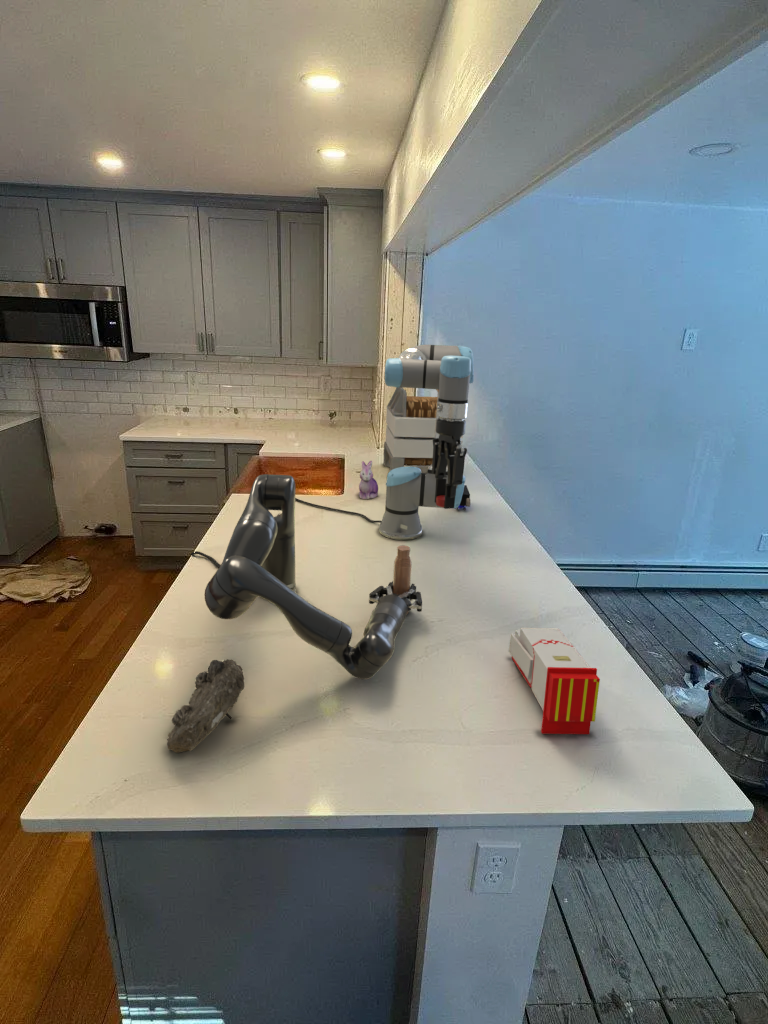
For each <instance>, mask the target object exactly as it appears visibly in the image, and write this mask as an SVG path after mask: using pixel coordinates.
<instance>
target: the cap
mask: <svg viewBox="0 0 768 1024" xmlns="http://www.w3.org/2000/svg"><path fill="white" fill-rule="evenodd" d="M444 501H445V495H440V496H437V498H436V505H437V506H440V507H444Z"/></svg>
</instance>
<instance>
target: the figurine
mask: <svg viewBox="0 0 768 1024" xmlns="http://www.w3.org/2000/svg"><path fill="white" fill-rule="evenodd" d="M372 466H373V460H369V461H368V463H367V464H366V462H365V461H364V460H362V461H361V471H360V472H359V478H360V482H359V484H358V490H359V492H358V497H359V499H363V500H369V499H374V498H377V497H378V493H379V485H378V481H377V480H376V478H374V473H373V471H372Z"/></svg>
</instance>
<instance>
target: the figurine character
mask: <svg viewBox="0 0 768 1024" xmlns="http://www.w3.org/2000/svg"><path fill="white" fill-rule="evenodd" d="M466 507H468V508H470V507H471V493H470V491H469V488H468V486H467V485H466V484H464V490H463V495H462V499H461V502H460V505H459V506H458V507H457V508H456V510H457V511H459V510H460V509H463V511H465V512H466V511H467V508H466Z"/></svg>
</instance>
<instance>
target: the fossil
mask: <svg viewBox="0 0 768 1024" xmlns="http://www.w3.org/2000/svg"><path fill="white" fill-rule="evenodd" d="M243 670H244V669H243V667H242V665H240V664H237V662H236V661H235V660H234V659H232V658H231V659H227V658H226V659H224V660H223V661H222V660H217V659H212V660H211V661H210V663H209V665H208V666H207V671H201V672H199V673H198V674H197V675H196V676H195V680H194V684H195V685H194V687H195V689H194V690H193V693H192V694H191V697H190V698H189V700H188V704H184V705H182V706H181V707H180V709H177V710H176V711H175V713H174V715H173V716H172V718H171V723H172V724H173V727H172V730H171V731H170V732H168V734H167V738H166V741H167V742H166V745H167V749H168V750H169V751H173V752H174V753H176V754H178V753H182V752H188V751H189V752H192V751H193V750H195V748H196V747H197V746H199V744H200V743H201V742H203V741H204V740H205V739H206V738H207V737H208V736H209V735H210V734H211V733H212V732H214V730H215V729H217V727H218V726H219V724H220V722H221V721H222V720H223V719H224V718H225V716H226V717H227V719H229V720H233V717H232V715H230V714H229V710H230V709H231V708H234V706H235V704H236V703H237V702H238V699H239V697H240V695H241V693H242V691H243V690H245V689H244V688H245V675H244V671H243Z"/></svg>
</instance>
